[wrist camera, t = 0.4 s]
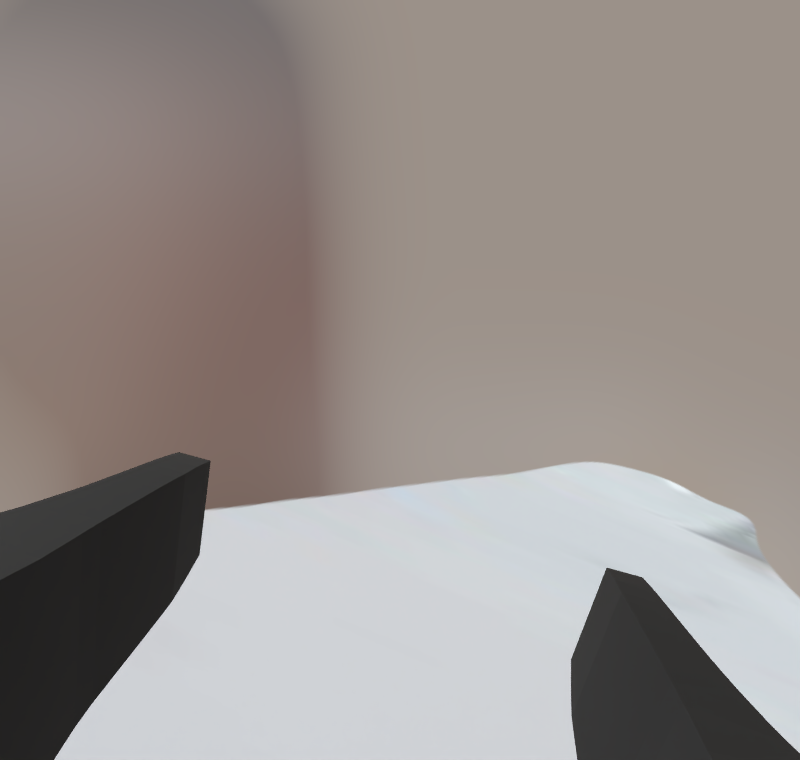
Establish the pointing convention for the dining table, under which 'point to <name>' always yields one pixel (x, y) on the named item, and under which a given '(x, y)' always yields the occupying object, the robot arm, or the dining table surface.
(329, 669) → the dining table surface
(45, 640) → the robot arm
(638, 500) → the dining table surface
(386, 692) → the dining table surface
